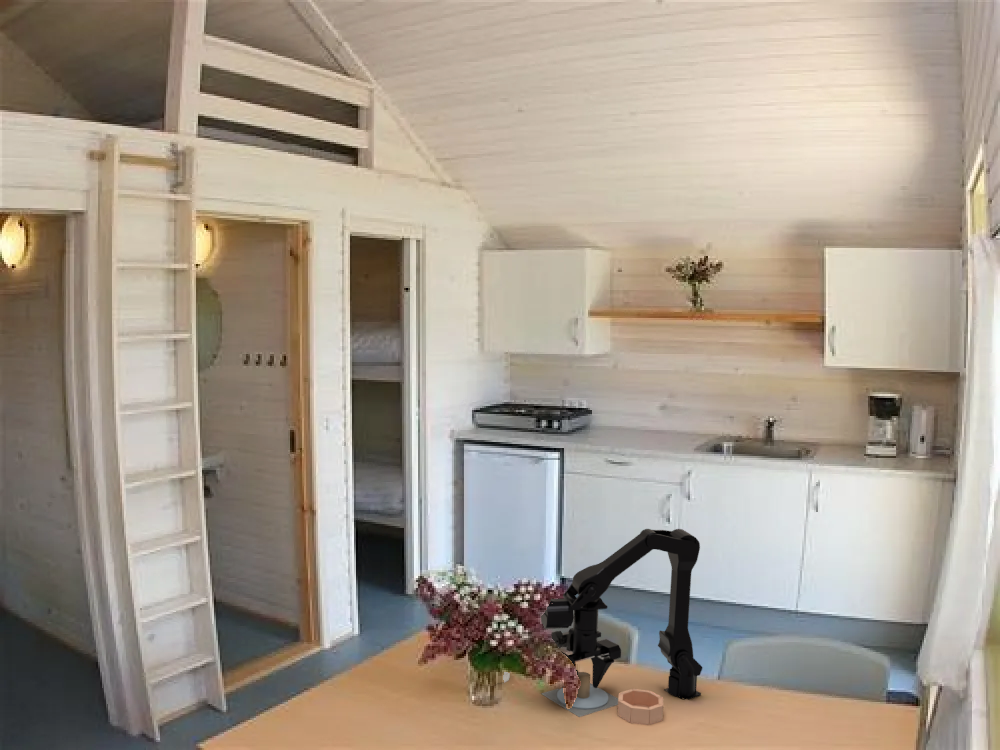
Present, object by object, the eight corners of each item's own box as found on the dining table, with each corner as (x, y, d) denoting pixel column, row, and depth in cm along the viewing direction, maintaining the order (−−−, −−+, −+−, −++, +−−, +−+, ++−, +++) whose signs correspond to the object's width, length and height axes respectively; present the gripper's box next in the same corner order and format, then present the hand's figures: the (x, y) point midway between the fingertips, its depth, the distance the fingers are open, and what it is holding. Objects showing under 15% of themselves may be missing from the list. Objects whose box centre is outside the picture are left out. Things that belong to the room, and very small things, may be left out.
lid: (585, 682, 216) (586, 660, 215) (619, 701, 206) (619, 678, 205) (546, 694, 209) (547, 671, 208) (579, 714, 199) (580, 690, 199)
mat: (585, 682, 217) (585, 680, 217) (624, 704, 206) (625, 702, 206) (540, 695, 209) (540, 693, 209) (579, 719, 198) (579, 716, 198)
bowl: (640, 702, 207) (641, 685, 207) (671, 719, 199) (672, 702, 199) (608, 712, 201) (609, 695, 201) (639, 730, 193) (640, 712, 193)
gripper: (592, 609, 218) (590, 670, 219) (532, 623, 207) (530, 687, 208) (623, 623, 209) (621, 687, 210) (562, 638, 198) (560, 705, 199)
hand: (582, 691), depth 207 cm, fingers open, 7 cm apart
